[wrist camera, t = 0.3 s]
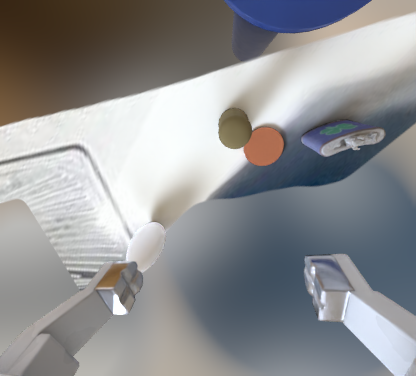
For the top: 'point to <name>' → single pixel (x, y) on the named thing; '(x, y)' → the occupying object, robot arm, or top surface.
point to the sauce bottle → (146, 245)
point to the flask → (341, 136)
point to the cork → (234, 128)
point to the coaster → (264, 146)
